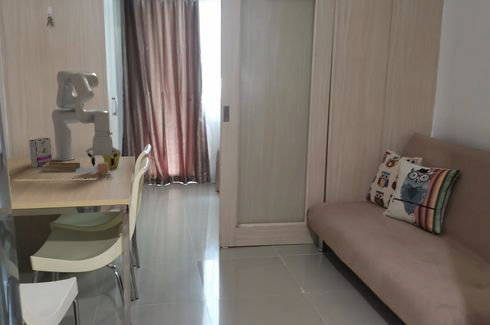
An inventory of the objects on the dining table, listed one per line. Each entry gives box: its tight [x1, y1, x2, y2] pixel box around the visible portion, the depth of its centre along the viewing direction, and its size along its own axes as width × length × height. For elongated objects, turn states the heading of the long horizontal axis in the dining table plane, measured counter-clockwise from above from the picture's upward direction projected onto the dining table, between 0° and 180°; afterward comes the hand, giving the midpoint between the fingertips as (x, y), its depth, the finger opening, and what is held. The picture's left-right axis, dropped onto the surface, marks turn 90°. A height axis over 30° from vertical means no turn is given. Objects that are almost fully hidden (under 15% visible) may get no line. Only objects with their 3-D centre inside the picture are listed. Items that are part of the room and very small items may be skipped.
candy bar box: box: [28, 137, 53, 168], centre depth 248 cm, size 11×5×16 cm, turn 161°
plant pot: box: [101, 149, 122, 169], centre depth 253 cm, size 10×10×10 cm
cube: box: [97, 162, 110, 174], centre depth 235 cm, size 5×5×5 cm
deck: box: [37, 165, 98, 174], centre depth 240 cm, size 18×29×1 cm, turn 98°
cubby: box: [41, 162, 81, 172], centre depth 238 cm, size 10×17×3 cm, turn 98°
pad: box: [98, 170, 112, 176], centre depth 237 cm, size 7×7×1 cm
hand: (103, 165), depth 236 cm, fingers open, 9 cm apart
